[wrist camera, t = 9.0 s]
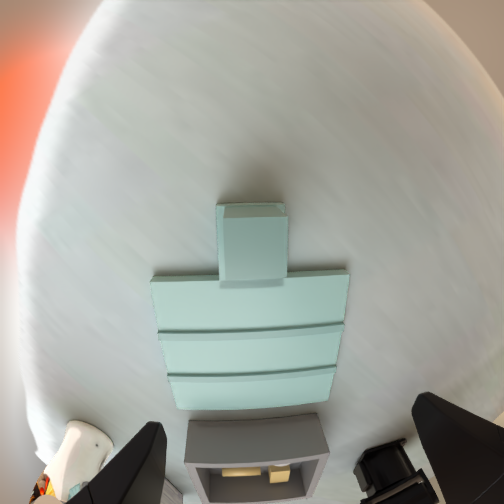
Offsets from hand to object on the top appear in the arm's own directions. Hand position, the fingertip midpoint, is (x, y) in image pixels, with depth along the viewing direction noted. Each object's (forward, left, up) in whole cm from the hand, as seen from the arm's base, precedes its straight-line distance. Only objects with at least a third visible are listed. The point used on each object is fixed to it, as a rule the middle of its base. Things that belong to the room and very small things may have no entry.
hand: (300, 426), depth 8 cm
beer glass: (+20, +19, -12) cm, 30 cm away
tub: (+1, +19, -12) cm, 22 cm away
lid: (+1, +3, -12) cm, 12 cm away
